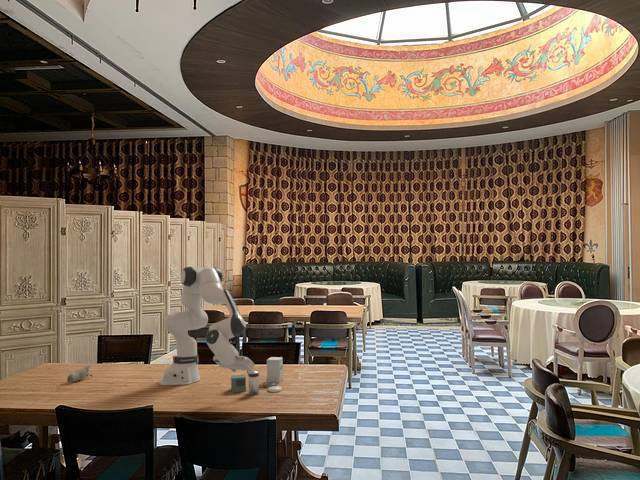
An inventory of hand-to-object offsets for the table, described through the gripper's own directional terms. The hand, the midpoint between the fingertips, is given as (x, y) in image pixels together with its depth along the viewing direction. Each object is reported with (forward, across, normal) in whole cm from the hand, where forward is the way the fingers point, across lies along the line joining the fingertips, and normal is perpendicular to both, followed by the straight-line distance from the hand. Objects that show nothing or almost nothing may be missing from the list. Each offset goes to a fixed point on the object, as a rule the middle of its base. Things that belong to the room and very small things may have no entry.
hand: (242, 371), depth 250 cm
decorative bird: (-2, +107, +21) cm, 109 cm away
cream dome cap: (+22, -6, -4) cm, 23 cm away
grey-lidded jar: (+15, 0, +3) cm, 15 cm away
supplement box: (+32, +4, -14) cm, 35 cm away
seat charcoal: (+26, +1, -8) cm, 27 cm away
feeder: (+16, +11, +2) cm, 20 cm away
